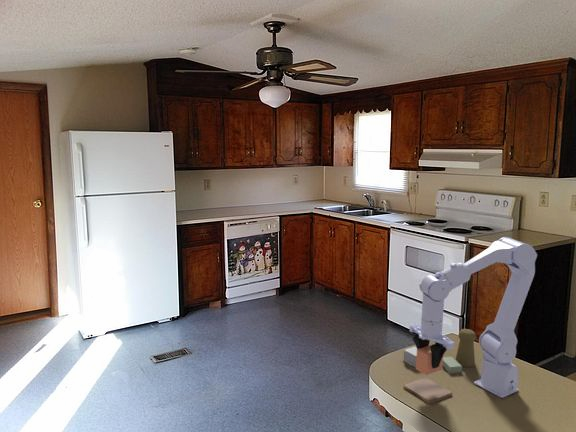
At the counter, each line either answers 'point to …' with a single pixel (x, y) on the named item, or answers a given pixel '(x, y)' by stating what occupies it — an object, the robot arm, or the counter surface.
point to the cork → (466, 348)
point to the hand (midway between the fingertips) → (429, 363)
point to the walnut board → (427, 390)
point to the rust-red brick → (426, 361)
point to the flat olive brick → (451, 365)
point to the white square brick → (410, 355)
